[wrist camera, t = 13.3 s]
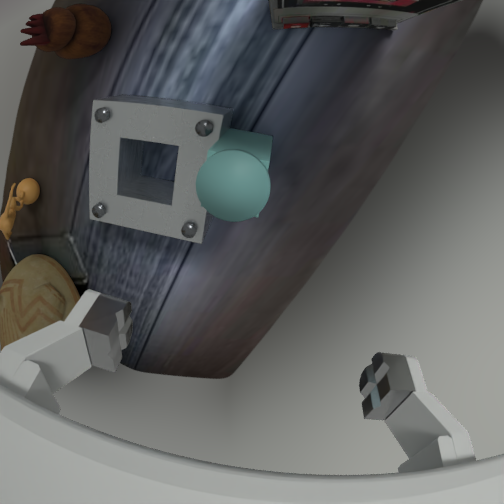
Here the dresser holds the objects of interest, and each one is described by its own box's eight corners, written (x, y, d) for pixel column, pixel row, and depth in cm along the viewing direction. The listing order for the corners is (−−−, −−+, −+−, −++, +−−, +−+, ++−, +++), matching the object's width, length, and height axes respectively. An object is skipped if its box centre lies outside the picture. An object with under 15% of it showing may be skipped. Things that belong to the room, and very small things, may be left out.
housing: (122, 94, 33) (90, 100, 27) (233, 108, 34) (222, 115, 27) (115, 197, 40) (87, 221, 34) (213, 217, 41) (200, 246, 34)
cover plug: (226, 123, 35) (200, 145, 24) (278, 132, 35) (277, 159, 24) (218, 171, 38) (192, 214, 27) (268, 180, 38) (262, 227, 27)
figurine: (31, 158, 38) (-24, 187, 28) (58, 172, 39) (4, 206, 29) (24, 203, 42) (-23, 238, 32) (50, 218, 43) (4, 258, 33)
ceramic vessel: (58, 328, 56) (1, 421, 35) (3, 251, 48) (-77, 334, 26) (112, 314, 52) (49, 431, 30) (49, 219, 43) (-56, 320, 22)
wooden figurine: (115, 55, 31) (36, 56, 18) (78, 61, 31) (-4, 68, 18) (120, 6, 27) (44, -14, 14) (82, 14, 27) (2, 4, 14)
